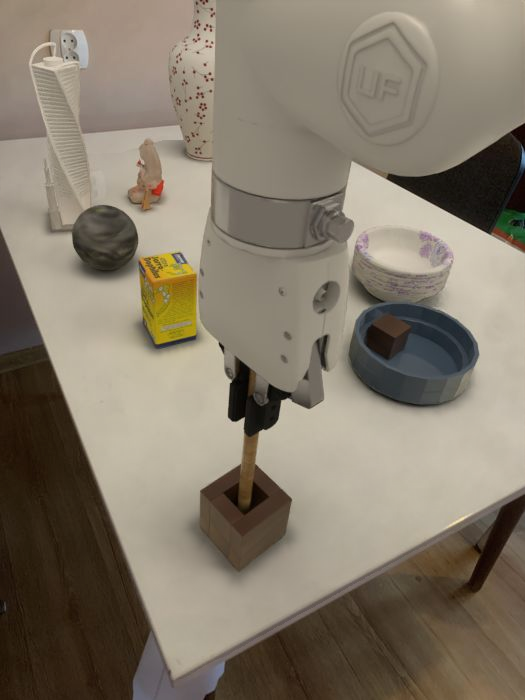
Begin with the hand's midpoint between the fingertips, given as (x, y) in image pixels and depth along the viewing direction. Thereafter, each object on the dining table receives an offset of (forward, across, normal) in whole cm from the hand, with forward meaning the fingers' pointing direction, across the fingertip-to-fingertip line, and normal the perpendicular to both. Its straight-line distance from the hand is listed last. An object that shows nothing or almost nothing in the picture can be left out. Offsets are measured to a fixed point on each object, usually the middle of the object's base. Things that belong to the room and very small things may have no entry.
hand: (253, 418), depth 43 cm
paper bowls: (+16, +18, -48) cm, 54 cm away
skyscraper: (+17, +67, -17) cm, 71 cm away
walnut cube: (+16, +9, -34) cm, 38 cm away
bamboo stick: (+13, 0, 0) cm, 13 cm away
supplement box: (+16, +30, -12) cm, 36 cm away
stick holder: (+16, 0, 0) cm, 16 cm away
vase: (+17, +81, -57) cm, 100 cm away
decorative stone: (+17, +50, -14) cm, 54 cm away
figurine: (+17, +67, -32) cm, 76 cm away
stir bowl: (+16, +5, -34) cm, 38 cm away
